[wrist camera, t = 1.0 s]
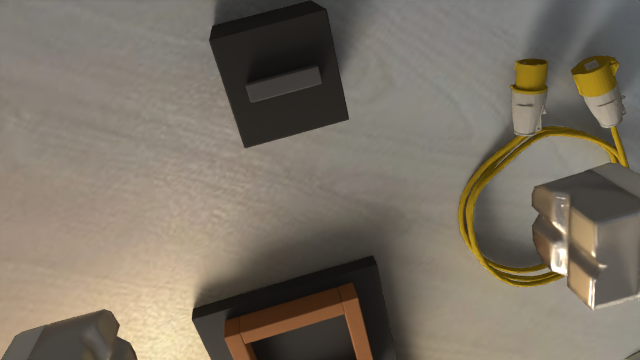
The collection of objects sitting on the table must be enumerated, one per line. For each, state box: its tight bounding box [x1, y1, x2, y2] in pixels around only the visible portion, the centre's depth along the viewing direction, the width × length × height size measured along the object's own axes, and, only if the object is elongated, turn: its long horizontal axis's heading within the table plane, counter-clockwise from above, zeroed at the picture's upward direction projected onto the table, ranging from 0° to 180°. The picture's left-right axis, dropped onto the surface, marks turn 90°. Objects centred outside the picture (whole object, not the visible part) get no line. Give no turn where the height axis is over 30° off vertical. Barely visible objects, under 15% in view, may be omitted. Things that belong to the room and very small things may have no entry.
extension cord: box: [458, 56, 629, 287], centre depth 29 cm, size 12×16×2 cm
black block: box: [209, 0, 349, 148], centre depth 22 cm, size 5×5×4 cm
